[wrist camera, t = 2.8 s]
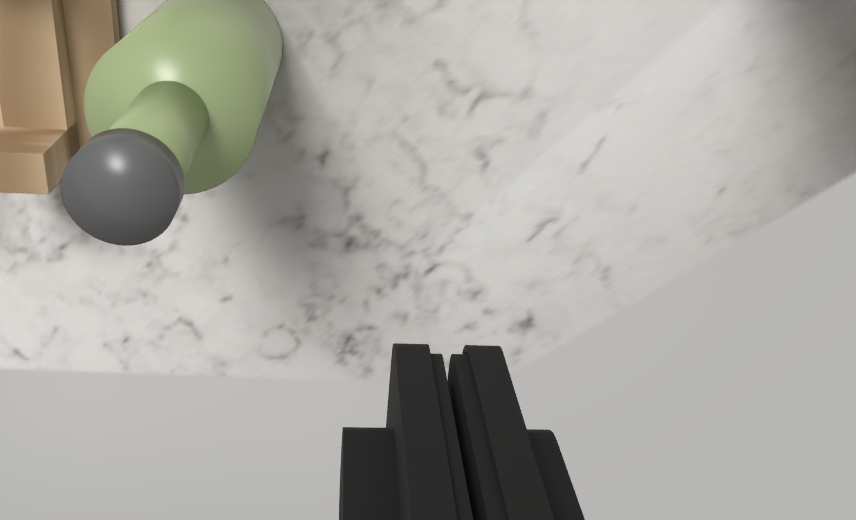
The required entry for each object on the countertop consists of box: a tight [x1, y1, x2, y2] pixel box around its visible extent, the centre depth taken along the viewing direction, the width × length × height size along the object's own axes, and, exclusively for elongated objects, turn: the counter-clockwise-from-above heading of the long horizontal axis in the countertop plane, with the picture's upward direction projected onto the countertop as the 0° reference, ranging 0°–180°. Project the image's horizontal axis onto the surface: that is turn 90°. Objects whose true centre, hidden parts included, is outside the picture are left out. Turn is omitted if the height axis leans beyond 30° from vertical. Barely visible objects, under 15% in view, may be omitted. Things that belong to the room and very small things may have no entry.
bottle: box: [61, 0, 283, 245], centre depth 26 cm, size 5×5×16 cm
